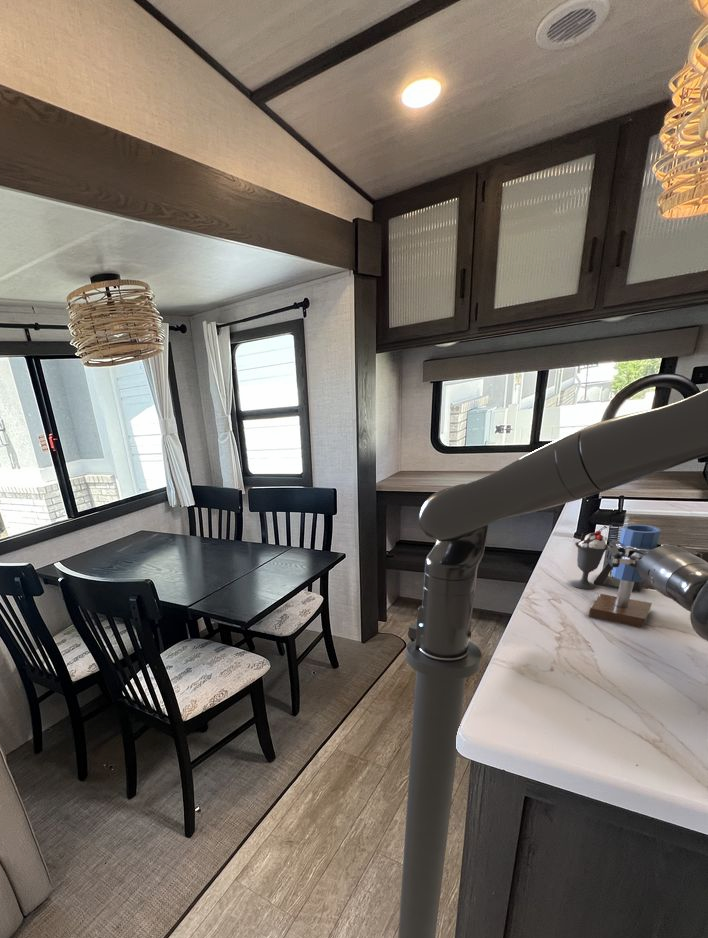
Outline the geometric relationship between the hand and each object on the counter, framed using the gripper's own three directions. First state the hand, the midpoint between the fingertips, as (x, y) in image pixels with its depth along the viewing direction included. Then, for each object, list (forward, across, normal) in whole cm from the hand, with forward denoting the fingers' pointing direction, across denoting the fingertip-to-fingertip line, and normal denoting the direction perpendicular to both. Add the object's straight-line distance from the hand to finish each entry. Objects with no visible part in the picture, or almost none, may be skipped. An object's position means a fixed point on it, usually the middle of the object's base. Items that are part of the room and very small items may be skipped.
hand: (630, 544), depth 94 cm
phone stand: (+15, -6, +15) cm, 22 cm away
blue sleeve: (-2, 0, +6) cm, 6 cm away
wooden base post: (-2, 0, +14) cm, 15 cm away
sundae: (+13, +1, +14) cm, 20 cm away
